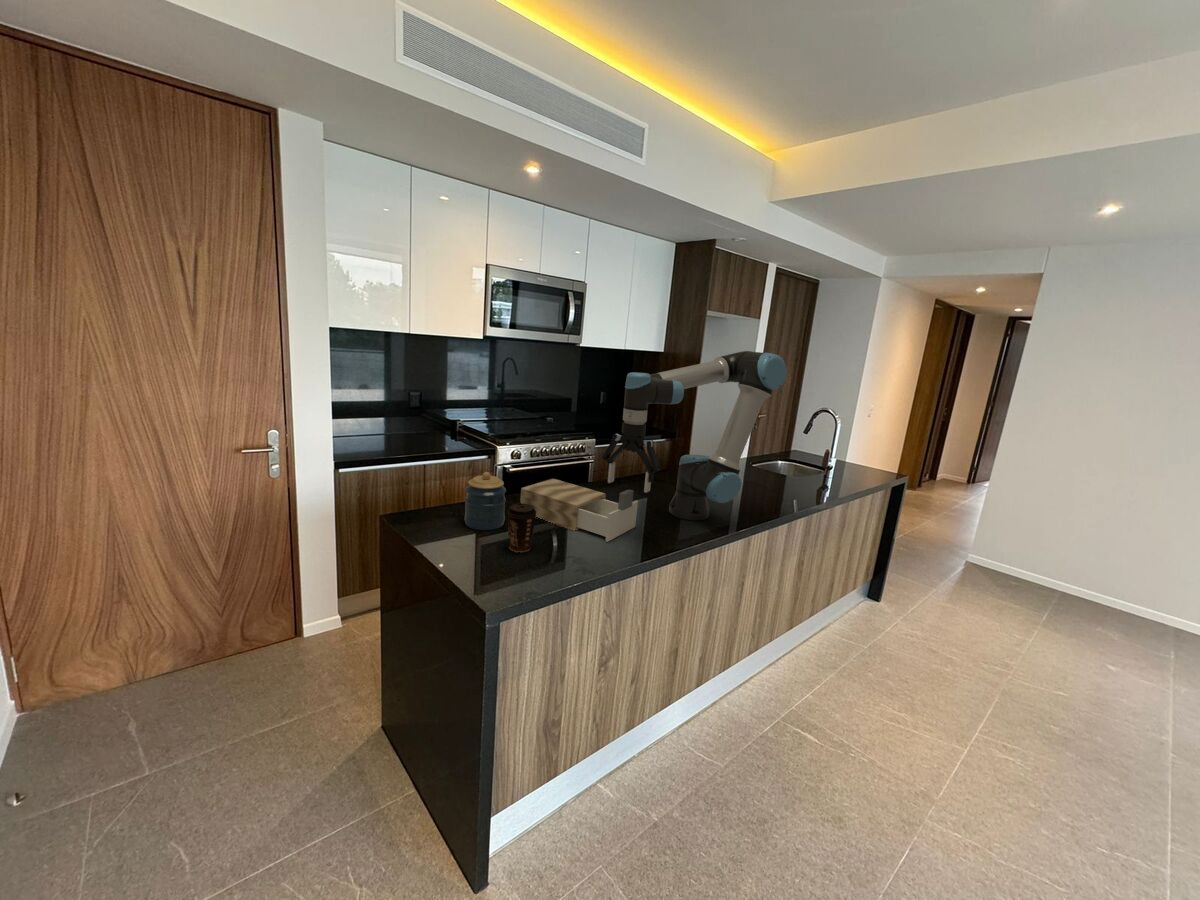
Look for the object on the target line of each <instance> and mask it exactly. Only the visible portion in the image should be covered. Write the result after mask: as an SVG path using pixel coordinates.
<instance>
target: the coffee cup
mask: <svg viewBox="0 0 1200 900" xmlns="http://www.w3.org/2000/svg"><path fill="white" fill-rule="evenodd" d="M506 516H507V522H508V523H507V529H508V530H507V531H508V537H509V541H510V542H509V543H510V544H509V546H508V549H509V550H510V551H512V552H513V551H514V552H513V553H518V552H520V553H526V552H529V551H530V550H531V549H532V541H533V537H534V532H535V523H536V521H535V520H536V519H537V518H536V511H535V509H534V506H532V505H529V504H525V503H523V504H522V503H520V502H519V503H517V502H516V503H514V504H511V505H510V506H509V508H508V509H507V511H506Z"/></svg>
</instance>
